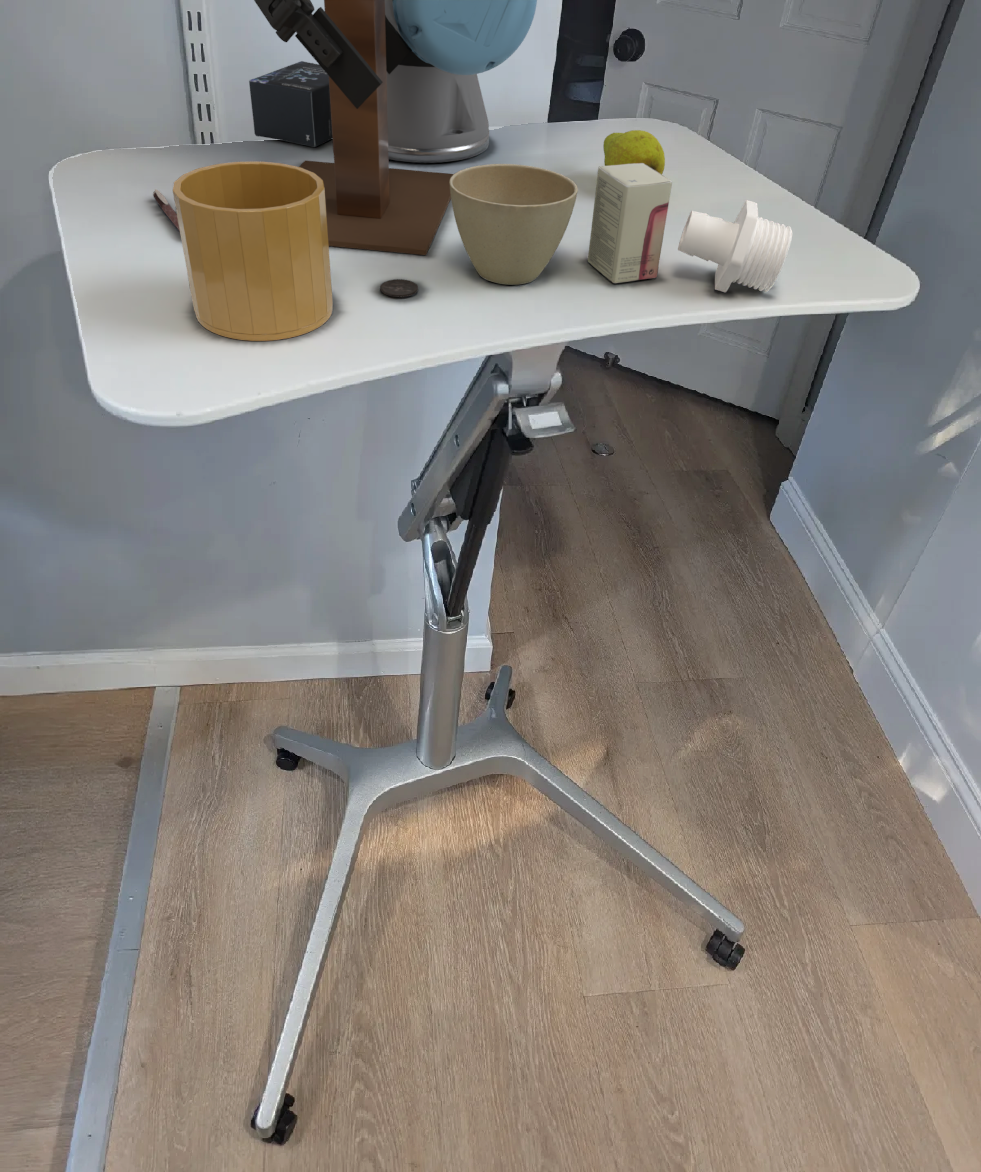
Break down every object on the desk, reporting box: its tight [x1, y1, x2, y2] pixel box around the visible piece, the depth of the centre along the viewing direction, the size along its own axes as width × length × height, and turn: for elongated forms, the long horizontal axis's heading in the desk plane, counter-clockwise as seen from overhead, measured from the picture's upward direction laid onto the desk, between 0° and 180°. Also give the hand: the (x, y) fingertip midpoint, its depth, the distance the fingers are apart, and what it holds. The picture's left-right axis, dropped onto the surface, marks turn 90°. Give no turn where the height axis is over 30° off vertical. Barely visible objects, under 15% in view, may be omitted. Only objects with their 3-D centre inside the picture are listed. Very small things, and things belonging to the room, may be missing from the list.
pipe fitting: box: [677, 199, 793, 294], centre depth 73 cm, size 6×7×8 cm
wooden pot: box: [172, 160, 334, 342], centre depth 64 cm, size 10×10×9 cm
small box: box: [587, 163, 673, 284], centre depth 73 cm, size 5×4×8 cm
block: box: [323, 0, 390, 219], centre depth 76 cm, size 4×4×18 cm
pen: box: [152, 189, 180, 232], centre depth 79 cm, size 11×1×1 cm, turn 29°
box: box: [248, 60, 333, 148], centre depth 99 cm, size 8×6×11 cm
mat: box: [298, 160, 455, 256], centre depth 84 cm, size 20×16×1 cm
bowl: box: [450, 163, 579, 286], centre depth 72 cm, size 10×10×7 cm
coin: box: [379, 278, 419, 298], centre depth 71 cm, size 3×1×3 cm
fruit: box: [603, 129, 666, 175], centre depth 91 cm, size 6×6×12 cm
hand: (386, 78), depth 74 cm, fingers open, 12 cm apart
